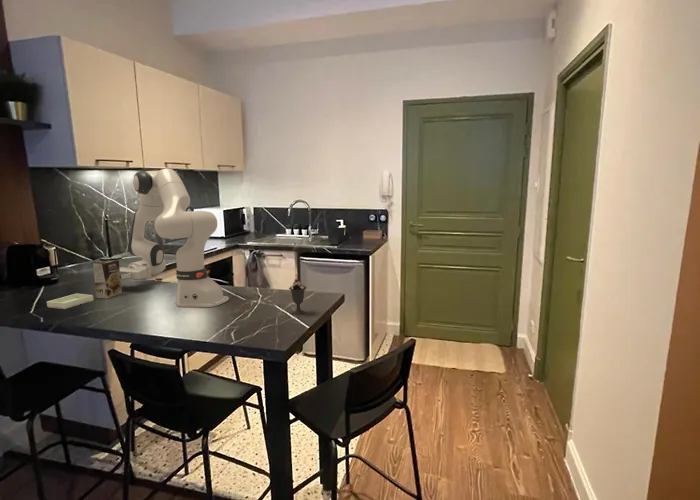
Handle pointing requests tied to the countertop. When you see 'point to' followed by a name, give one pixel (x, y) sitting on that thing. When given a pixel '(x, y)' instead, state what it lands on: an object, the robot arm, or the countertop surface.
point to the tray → (69, 301)
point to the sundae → (297, 295)
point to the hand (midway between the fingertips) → (112, 276)
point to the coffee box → (107, 278)
